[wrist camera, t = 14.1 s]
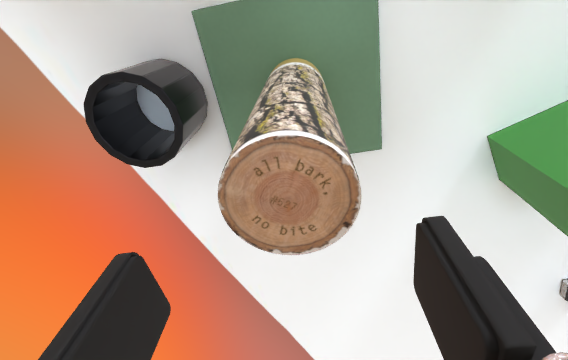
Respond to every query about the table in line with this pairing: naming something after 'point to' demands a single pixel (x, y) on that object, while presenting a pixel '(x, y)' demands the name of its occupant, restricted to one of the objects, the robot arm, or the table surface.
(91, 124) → the pen pot
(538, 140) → the hardback book
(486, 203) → the table surface
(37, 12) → the table surface
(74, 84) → the table surface
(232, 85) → the mat
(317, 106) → the paper tube
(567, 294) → the vintage mobile phone
